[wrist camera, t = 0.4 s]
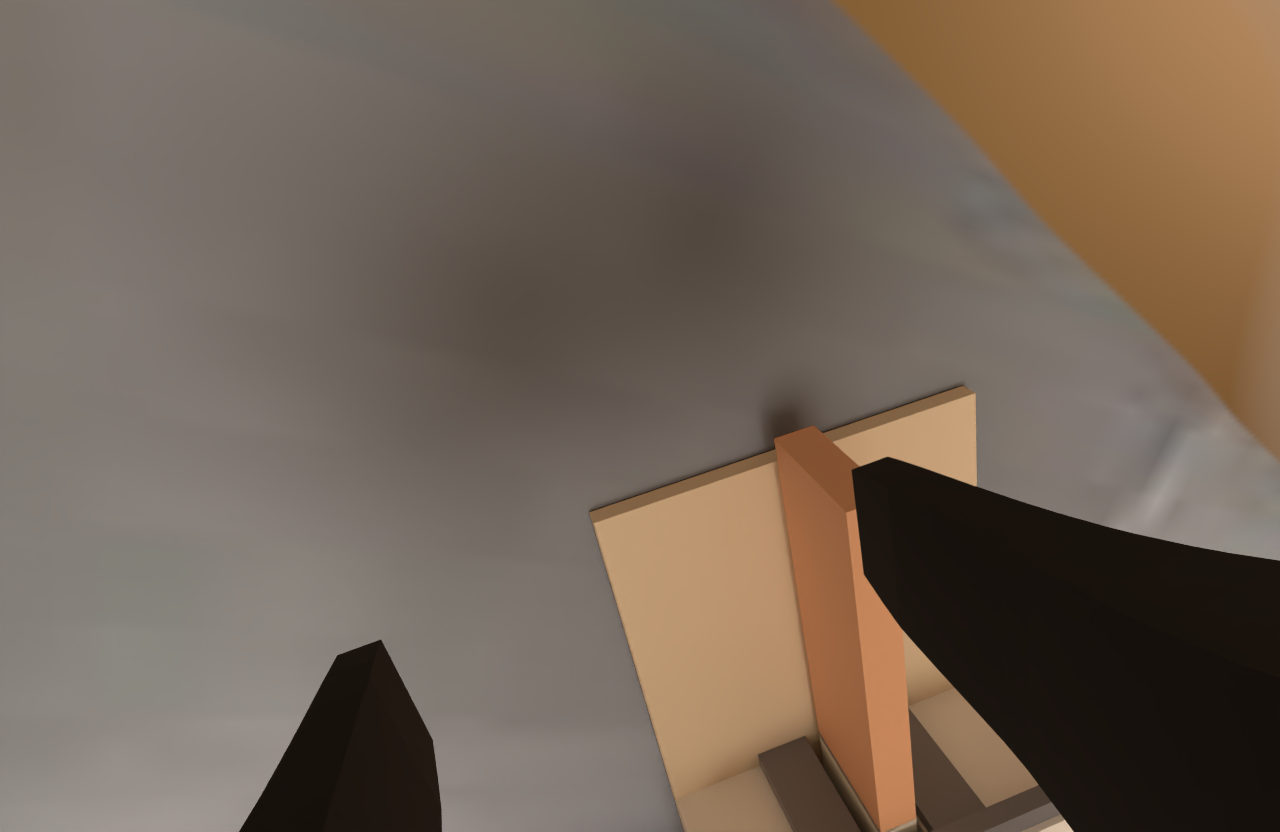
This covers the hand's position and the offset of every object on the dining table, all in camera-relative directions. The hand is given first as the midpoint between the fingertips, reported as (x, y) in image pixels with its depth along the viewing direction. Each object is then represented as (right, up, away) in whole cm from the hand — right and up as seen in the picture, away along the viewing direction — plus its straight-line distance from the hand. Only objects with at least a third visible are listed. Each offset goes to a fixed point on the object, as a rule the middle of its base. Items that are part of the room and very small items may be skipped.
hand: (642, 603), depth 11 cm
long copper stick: (+6, -6, +15) cm, 17 cm away
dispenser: (+7, -8, +17) cm, 20 cm away
